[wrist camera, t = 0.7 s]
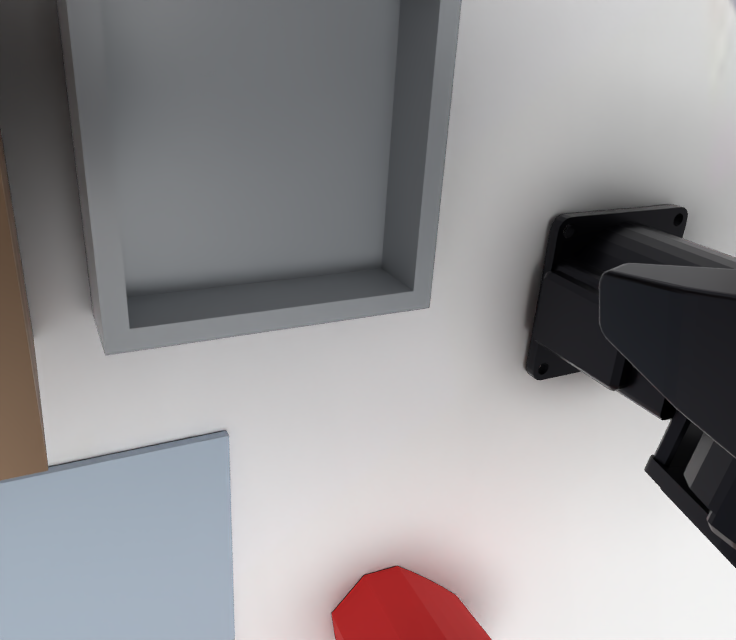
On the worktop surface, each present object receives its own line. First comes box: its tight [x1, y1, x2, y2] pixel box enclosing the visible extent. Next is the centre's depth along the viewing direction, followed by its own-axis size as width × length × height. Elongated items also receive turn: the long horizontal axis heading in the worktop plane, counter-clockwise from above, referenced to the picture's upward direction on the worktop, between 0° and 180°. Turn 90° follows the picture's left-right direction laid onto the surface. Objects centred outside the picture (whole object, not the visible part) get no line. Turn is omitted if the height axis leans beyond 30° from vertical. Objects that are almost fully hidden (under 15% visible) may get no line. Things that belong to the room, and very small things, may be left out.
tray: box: [57, 0, 462, 355], centre depth 17 cm, size 9×9×2 cm
